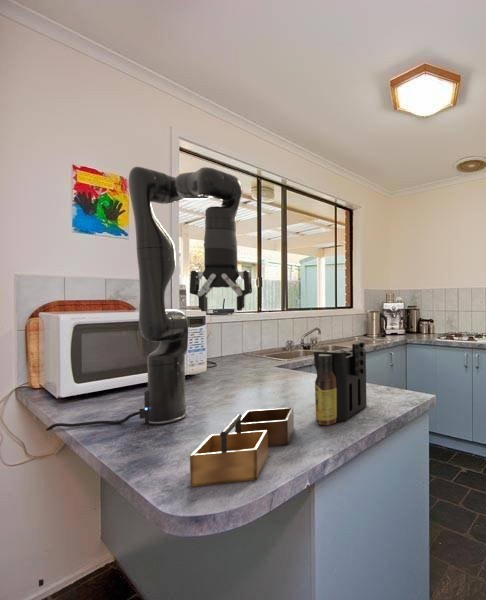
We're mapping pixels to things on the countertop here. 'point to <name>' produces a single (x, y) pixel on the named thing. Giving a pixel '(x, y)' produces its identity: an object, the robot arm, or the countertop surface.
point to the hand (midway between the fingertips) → (222, 310)
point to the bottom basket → (270, 424)
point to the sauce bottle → (325, 391)
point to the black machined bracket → (348, 379)
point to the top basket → (229, 456)
